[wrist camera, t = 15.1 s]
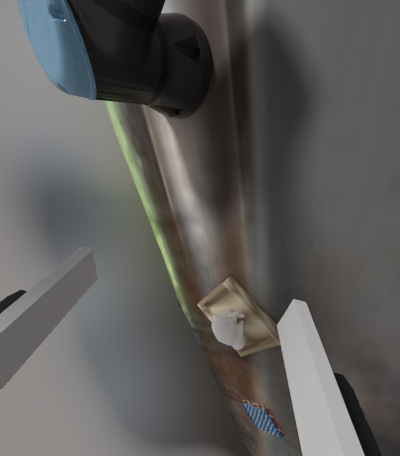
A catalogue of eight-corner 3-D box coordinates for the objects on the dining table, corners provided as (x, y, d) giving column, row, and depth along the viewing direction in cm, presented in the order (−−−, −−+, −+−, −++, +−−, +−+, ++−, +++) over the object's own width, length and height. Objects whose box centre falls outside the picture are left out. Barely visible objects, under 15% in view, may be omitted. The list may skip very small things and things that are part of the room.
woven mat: (286, 433, 59) (284, 441, 58) (258, 422, 67) (256, 429, 65) (268, 403, 59) (265, 410, 58) (242, 396, 67) (239, 402, 65)
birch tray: (203, 298, 59) (197, 304, 57) (230, 275, 49) (224, 282, 46) (245, 347, 55) (241, 356, 53) (286, 334, 45) (282, 344, 43)
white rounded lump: (226, 332, 42) (242, 369, 46) (242, 304, 48) (255, 339, 52) (204, 325, 47) (220, 359, 50) (221, 300, 52) (235, 332, 56)
